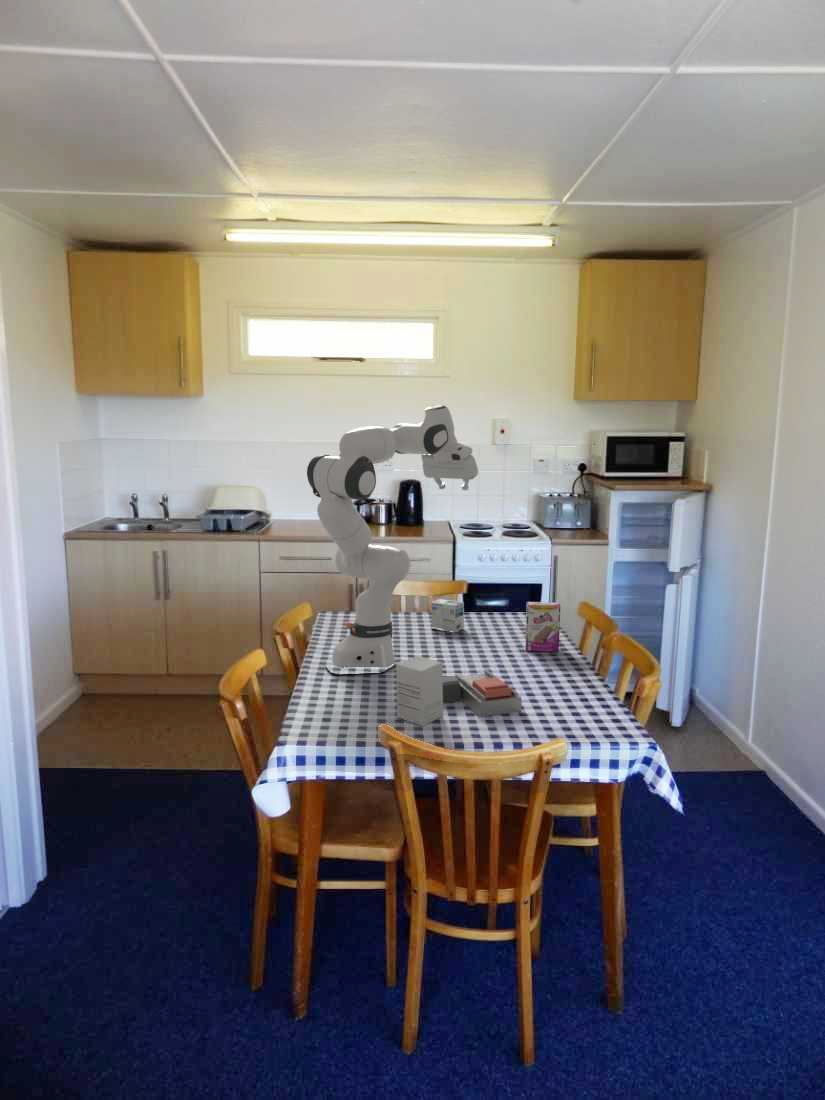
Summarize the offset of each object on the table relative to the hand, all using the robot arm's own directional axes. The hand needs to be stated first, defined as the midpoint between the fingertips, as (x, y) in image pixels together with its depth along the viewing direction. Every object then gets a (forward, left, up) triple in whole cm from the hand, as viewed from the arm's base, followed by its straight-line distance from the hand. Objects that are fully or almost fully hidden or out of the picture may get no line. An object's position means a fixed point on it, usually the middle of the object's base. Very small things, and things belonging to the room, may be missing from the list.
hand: (454, 489), depth 259 cm
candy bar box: (+24, -21, -54) cm, 63 cm away
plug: (-22, -53, -54) cm, 79 cm away
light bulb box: (+3, +14, -54) cm, 56 cm away
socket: (-13, -57, -54) cm, 80 cm away
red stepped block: (-13, -62, -50) cm, 80 cm away
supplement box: (-34, -63, -54) cm, 89 cm away
